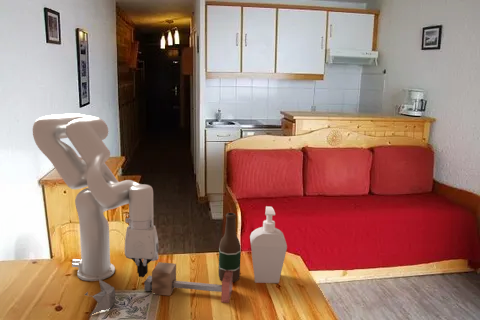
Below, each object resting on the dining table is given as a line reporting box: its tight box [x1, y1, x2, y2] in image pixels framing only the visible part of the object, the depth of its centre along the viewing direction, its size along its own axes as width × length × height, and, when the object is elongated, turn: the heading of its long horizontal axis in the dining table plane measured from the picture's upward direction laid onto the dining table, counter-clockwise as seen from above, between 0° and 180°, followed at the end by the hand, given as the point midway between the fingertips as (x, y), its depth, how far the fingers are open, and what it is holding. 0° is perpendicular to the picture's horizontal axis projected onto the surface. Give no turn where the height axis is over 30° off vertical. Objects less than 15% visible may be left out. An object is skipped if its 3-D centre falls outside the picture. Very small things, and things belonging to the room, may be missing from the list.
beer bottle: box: [218, 212, 242, 283], centre depth 139 cm, size 8×8×24 cm
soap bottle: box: [249, 205, 288, 284], centre depth 141 cm, size 12×10×26 cm
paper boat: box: [84, 279, 116, 317], centre depth 121 cm, size 12×6×9 cm
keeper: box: [151, 261, 177, 296], centre depth 132 cm, size 6×7×8 cm
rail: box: [143, 270, 233, 304], centre depth 131 cm, size 28×8×7 cm, turn 84°
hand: (142, 275), depth 132 cm, fingers closed
